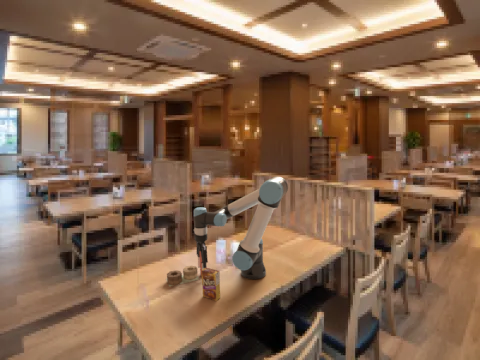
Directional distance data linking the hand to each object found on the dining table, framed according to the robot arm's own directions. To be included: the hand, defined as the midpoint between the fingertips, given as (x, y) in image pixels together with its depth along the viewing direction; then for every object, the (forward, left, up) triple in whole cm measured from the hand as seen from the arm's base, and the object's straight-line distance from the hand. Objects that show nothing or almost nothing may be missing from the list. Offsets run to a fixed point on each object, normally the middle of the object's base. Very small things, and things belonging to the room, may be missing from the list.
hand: (202, 269), depth 178 cm
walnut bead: (+17, 0, -4) cm, 17 cm away
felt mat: (+12, -1, -4) cm, 13 cm away
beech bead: (+7, -2, -4) cm, 8 cm away
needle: (0, 0, -4) cm, 4 cm away
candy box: (+3, +25, -4) cm, 25 cm away
